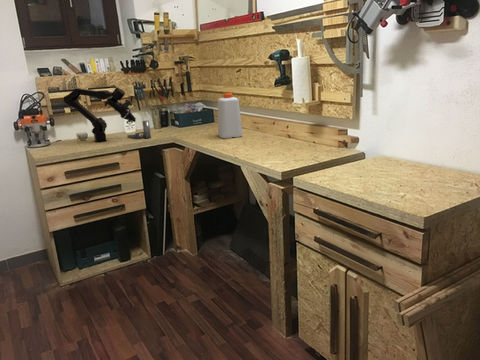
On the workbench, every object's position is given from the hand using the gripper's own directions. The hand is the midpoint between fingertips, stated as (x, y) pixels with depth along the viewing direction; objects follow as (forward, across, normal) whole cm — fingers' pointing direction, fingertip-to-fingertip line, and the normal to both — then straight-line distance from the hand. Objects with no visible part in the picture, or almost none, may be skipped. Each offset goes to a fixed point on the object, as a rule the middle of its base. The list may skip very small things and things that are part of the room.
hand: (135, 120), depth 266 cm
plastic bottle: (+52, -19, -34) cm, 65 cm away
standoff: (+14, 0, +4) cm, 15 cm away
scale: (+9, +9, +9) cm, 16 cm away
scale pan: (+8, +10, +8) cm, 15 cm away
